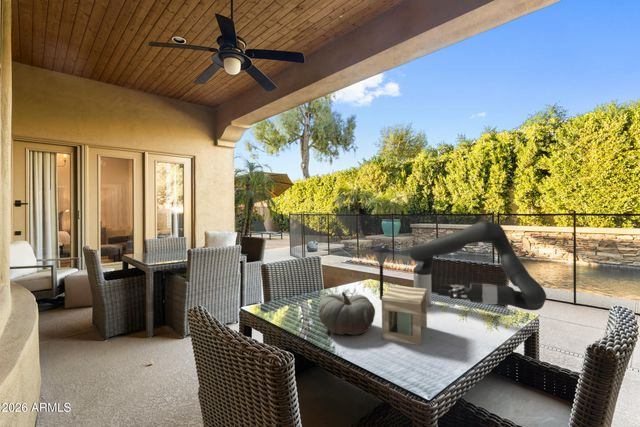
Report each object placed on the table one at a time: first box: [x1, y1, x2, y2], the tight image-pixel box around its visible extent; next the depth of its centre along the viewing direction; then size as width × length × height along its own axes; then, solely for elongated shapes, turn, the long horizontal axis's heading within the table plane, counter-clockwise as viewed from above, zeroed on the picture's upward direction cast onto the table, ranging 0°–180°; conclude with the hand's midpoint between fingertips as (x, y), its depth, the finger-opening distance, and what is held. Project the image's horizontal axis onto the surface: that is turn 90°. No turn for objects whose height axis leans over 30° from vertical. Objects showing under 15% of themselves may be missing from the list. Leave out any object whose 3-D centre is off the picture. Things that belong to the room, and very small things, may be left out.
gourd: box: [317, 291, 376, 336], centre depth 141 cm, size 25×25×17 cm
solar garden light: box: [370, 246, 392, 301], centre depth 185 cm, size 12×12×30 cm
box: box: [381, 285, 428, 346], centre depth 136 cm, size 20×15×17 cm
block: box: [396, 312, 412, 335], centre depth 136 cm, size 5×5×10 cm
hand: (439, 289), depth 131 cm, fingers open, 8 cm apart
